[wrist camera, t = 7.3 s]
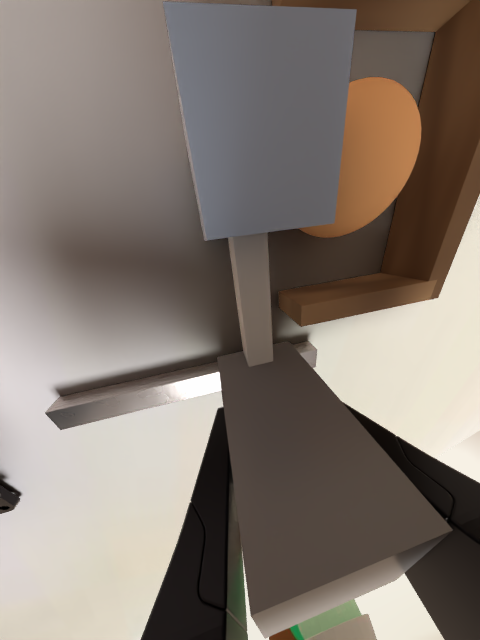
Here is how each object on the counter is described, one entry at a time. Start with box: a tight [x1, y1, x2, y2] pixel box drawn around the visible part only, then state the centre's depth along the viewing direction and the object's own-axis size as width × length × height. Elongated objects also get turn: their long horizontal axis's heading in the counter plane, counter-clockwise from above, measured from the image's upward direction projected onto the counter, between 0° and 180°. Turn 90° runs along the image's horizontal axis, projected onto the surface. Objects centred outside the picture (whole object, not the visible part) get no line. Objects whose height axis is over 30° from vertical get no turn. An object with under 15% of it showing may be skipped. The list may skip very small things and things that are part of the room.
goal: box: [272, 0, 480, 327], centre depth 7 cm, size 8×11×2 cm
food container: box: [269, 599, 377, 640], centre depth 19 cm, size 12×6×10 cm, turn 55°
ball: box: [299, 77, 421, 238], centre depth 6 cm, size 4×4×4 cm
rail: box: [45, 341, 317, 430], centre depth 10 cm, size 15×1×1 cm, turn 97°
